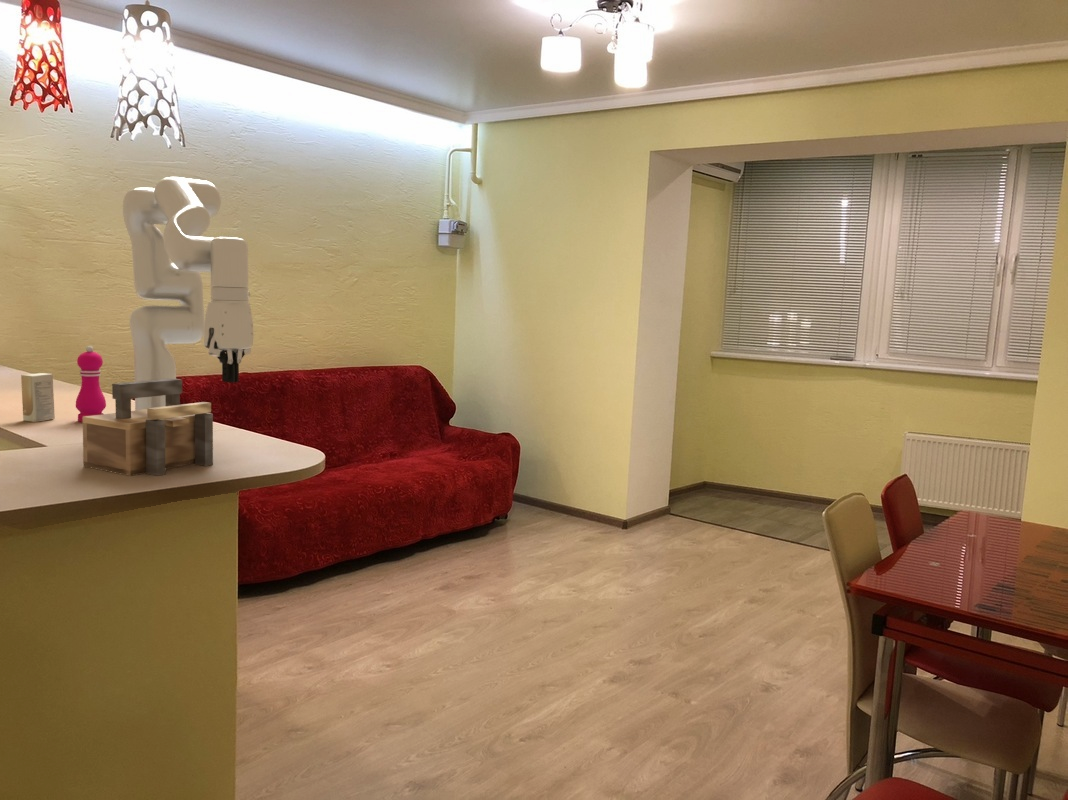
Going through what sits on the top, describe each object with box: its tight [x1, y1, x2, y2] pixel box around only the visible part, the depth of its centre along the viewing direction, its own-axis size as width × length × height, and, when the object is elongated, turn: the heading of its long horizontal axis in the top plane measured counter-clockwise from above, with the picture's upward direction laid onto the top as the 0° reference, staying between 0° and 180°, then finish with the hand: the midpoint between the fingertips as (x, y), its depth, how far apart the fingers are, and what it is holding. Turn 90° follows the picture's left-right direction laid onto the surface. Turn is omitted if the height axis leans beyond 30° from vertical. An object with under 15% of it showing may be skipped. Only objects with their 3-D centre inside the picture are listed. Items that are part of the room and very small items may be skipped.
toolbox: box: [82, 412, 214, 477], centre depth 177 cm, size 20×18×11 cm
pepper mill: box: [75, 345, 107, 423], centre depth 227 cm, size 7×7×20 cm
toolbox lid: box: [82, 378, 212, 430], centre depth 177 cm, size 20×16×8 cm
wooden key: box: [147, 401, 212, 420], centre depth 173 cm, size 14×2×2 cm, turn 153°
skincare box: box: [20, 372, 56, 423], centre depth 224 cm, size 6×4×12 cm
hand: (230, 381), depth 184 cm, fingers closed
